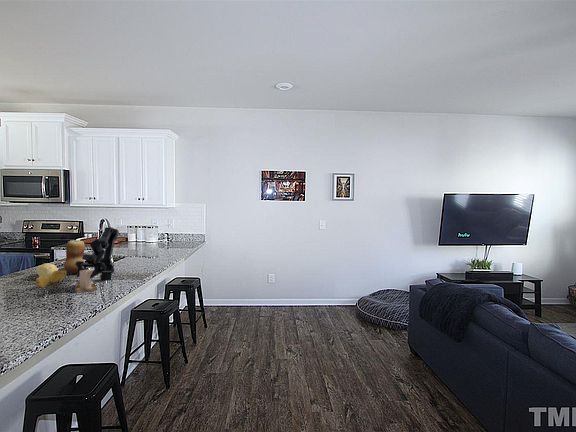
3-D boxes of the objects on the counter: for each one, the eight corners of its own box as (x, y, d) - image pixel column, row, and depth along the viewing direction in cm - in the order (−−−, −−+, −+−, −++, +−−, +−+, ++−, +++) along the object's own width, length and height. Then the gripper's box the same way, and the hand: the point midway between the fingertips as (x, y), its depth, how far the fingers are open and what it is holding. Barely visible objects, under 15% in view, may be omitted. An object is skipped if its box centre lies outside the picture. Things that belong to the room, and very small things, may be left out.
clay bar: (85, 288, 226) (85, 269, 226) (91, 289, 225) (91, 269, 225) (79, 290, 222) (79, 270, 221) (85, 290, 221) (86, 271, 220)
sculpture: (33, 279, 252) (33, 263, 251) (49, 275, 263) (49, 261, 263) (45, 280, 248) (45, 265, 248) (61, 277, 259) (61, 262, 259)
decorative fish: (64, 278, 249) (61, 265, 247) (68, 279, 249) (65, 265, 246) (36, 293, 229) (33, 279, 226) (41, 294, 228) (38, 279, 225)
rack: (95, 285, 239) (95, 280, 239) (95, 293, 220) (95, 288, 220) (75, 287, 234) (75, 282, 233) (74, 295, 215) (74, 289, 215)
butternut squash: (80, 275, 267) (80, 241, 266) (60, 275, 265) (60, 241, 264) (87, 271, 281) (87, 239, 280) (68, 271, 279) (68, 239, 277)
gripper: (77, 248, 228) (63, 268, 218) (103, 249, 224) (90, 271, 214) (86, 258, 236) (73, 279, 226) (112, 260, 233) (99, 281, 222)
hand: (83, 277), depth 222 cm, fingers open, 9 cm apart
